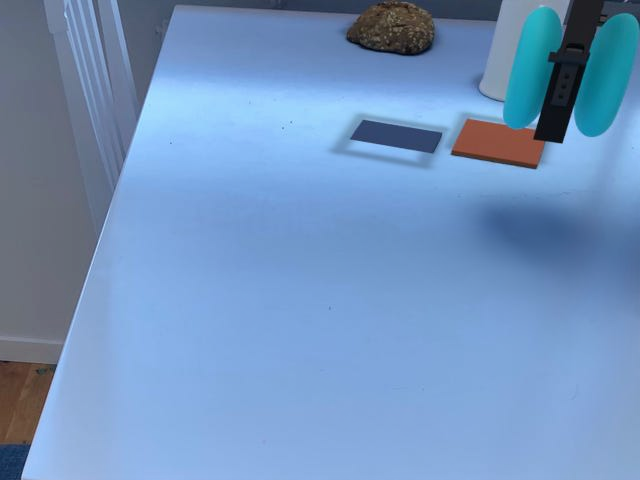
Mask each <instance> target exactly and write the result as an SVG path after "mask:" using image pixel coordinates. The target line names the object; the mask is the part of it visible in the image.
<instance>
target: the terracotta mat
mask: <svg viewBox="0 0 640 480" xmlns="http://www.w3.org/2000/svg"><path fill="white" fill-rule="evenodd" d="M535 130H536V128H530V127H529V128H528V127H525V128H522V129H512V128H510V127H508V126H507V125H506V124H505V123H498V122H493V121H486V120H478V119H474V118H466V120H465V122H464V124H463V127H462V129H461V130H460V132H459V134H458V136H457V138H456V141H455V143H454V145H453V147H452V149H451V152H450V155H453V156H460V157H465V158H470V159H476V160H482V161H488V162H494V163H501V164H505V165H506V164H507V165H512V166H519V167H524V168H530V169H535V170H536V169H537V168H538V165H539V162H540V159H541V157H542V153H543V150H544V146H545V143H546V141H539V140H533V137H534V134H535Z"/></svg>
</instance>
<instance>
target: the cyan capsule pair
mask: <svg viewBox="0 0 640 480" xmlns="http://www.w3.org/2000/svg"><path fill="white" fill-rule="evenodd" d="M562 40H563V26H561V21H560V18H559V16H558V14H557V13H556V12H555V11H554V10H553V9H552V8H550V7H539V8H537V9H535V10H534V11H532V12H531V13H530V14H529V16H528V17H527V19H526V21H525V23H524V26H523V29H522V32H521V35H520V39H519V42H518V46H517V50H516V54H515V58H514V62H513V66H512V70H511V74H510V79H509V83H508V88H507V92H506V97H505V102H503V109H502V119H503V122H504V124H505V125H507V126H508V127H510V128H512V129H522V128H527V127H528V126H529V125H531V124H532V123H533V122H534V121H535V120H536V119H537V118H538V117H539V116H540V113H541V109H542V106H543V102H544V98H545V95H546V91H547V88H548V84H549V81H550V77H551V74H552V70H553V67H554V63H553V62H548V58H549V54H550V52H557V51H558V49H559V48H560V47H561V43H562ZM639 40H640V23H639V21H638V20H637V18H636V17H635V16H634V15H633V14H632V13H627V12H622V13H618V14H615V15H613V16H612V17H610V18H609V19H607V20H606V23H605V24H604V25H603V26H602V27H600V28H599V30H598V31H596V34H595V37H594V39H593V42H592V44H591V47H590V53H591V54H590V57H589V60H588V62H586V63H587V65H586V69H585V72H584V75H583V78H582V82H581V85H580V88H579V92H578V95H577V98H576V101H575V105H574V108H573V117H574V123H575V126H576V128H577V130H578V132H579V133H581V134H582V135H583V136H585V137H587V138H597V137H600V136H602V135H603V134H604V133H606V132H607V131H608V130H609V129H610V127H611V126H612V124H613V123H614V122H615V119H616V117H617V115H618V114H619V110H620V108H621V106H622V104H623V101H624V98H625V95H626V92H627V89H628V86H629V83H630V80H631V75H632V73H633V69H634V65H635V61H636V56H637V52H638V48H639Z"/></svg>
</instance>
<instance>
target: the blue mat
mask: <svg viewBox="0 0 640 480" xmlns="http://www.w3.org/2000/svg"><path fill="white" fill-rule="evenodd" d="M442 137H443V131H442V132H441V131H435V130H429V129H424V128H423V129H422V128H417V127H411V126H405V125H398V124H394V123H393V124H392V123H386V122H380V121H375V120H368V119H362V120H361V122H360V123H359V124H358V126H357V127H356V129H355V130H354V132H353V133H352V134H351V136H350V138H349V140H351V141H356V142H362V143H366V144H367V143H368V144H374V145H379V146H384V147H385V146H386V147H390V148H397V149H403V150H409V151H415V152H421V153H427V154H434V152H435V150H436V148H437V147H438V145H439V143H440V142H441V139H442Z"/></svg>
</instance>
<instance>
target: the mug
mask: <svg viewBox="0 0 640 480" xmlns="http://www.w3.org/2000/svg"><path fill="white" fill-rule="evenodd" d="M570 2H571V0H502V2H501V4H500V8H499V14H498V16H497V21H496V25H495V29H494V33H493V37H492V41H491V45H490V50H489V52H488V56H487V61H486V64H485V69H484V72H483V76H482V77H481V81H480V83H479V85H478V90H479V91H480V93H481V94H483V95H484V96H486V97H487V98H490V99H492V100H495V101H498V102H499V101H500V102H503V103H504V102H505V97H506V92H507V88H508V83H509V79H510V74H511V70H512V66H513V62H514V58H515V54H516V50H517V46H518V42H519V39H520V35H521V32H522V29H523V26H524V23H525V21H526V19H527V17H528V16H529V14H530V13H531V12H532V11H534V10H535V9H537V8H539V7H550V8H552V9H553V10H554V11H555V12H556V13H557V14H558V16H559V18H560V21H561V26H562V27H564V26H563V25H564V23H565V18H566V15H567V12H568V9H569V6H570Z"/></svg>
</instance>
